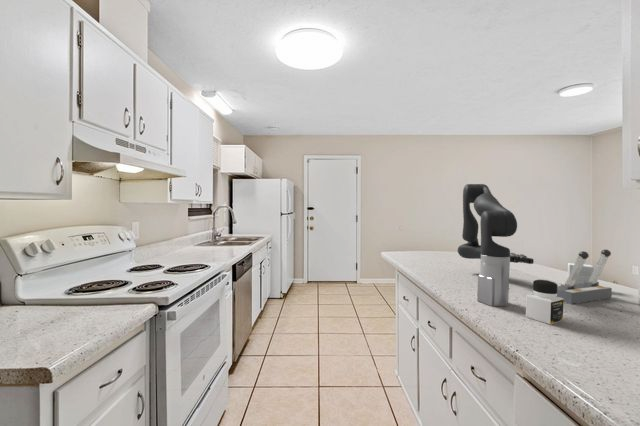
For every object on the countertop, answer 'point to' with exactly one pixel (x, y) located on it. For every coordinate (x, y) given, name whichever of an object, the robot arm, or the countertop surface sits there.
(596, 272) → the lever
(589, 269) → the small box
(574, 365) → the countertop surface
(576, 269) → the lever
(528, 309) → the medicine bottle
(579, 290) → the switch console
